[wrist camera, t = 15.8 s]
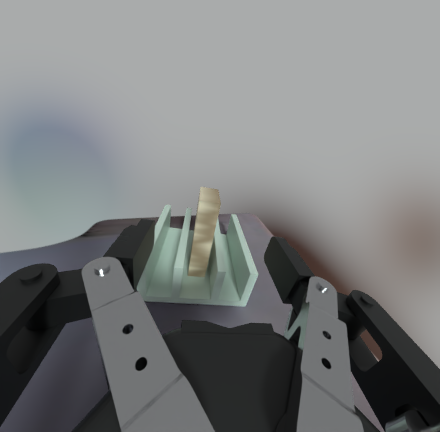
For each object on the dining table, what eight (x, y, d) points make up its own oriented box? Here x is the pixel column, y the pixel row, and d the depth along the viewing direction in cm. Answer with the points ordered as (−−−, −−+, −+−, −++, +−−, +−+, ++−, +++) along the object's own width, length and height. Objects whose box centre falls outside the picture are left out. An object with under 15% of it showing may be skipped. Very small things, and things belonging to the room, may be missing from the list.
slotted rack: (137, 300, 21) (136, 264, 18) (164, 231, 35) (165, 204, 32) (245, 306, 23) (258, 274, 20) (229, 238, 37) (236, 214, 35)
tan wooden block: (187, 275, 25) (199, 200, 19) (190, 253, 29) (200, 186, 24) (204, 277, 25) (220, 203, 20) (204, 254, 29) (218, 189, 24)
